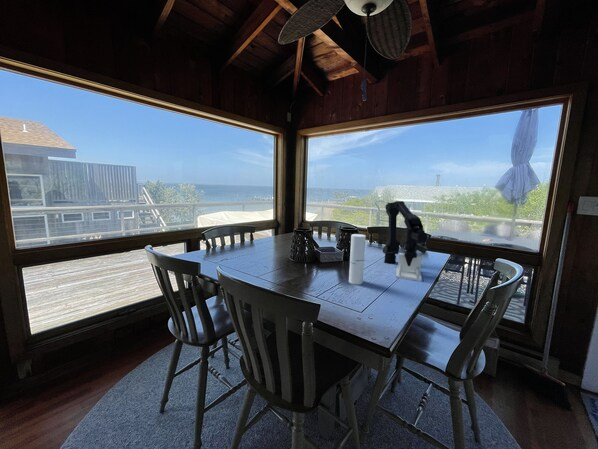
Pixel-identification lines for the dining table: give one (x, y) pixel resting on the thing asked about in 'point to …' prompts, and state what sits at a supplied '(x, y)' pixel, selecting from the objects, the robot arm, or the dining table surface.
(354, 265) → the cylindrical container
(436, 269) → the dining table surface
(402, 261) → the tile
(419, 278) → the rack
